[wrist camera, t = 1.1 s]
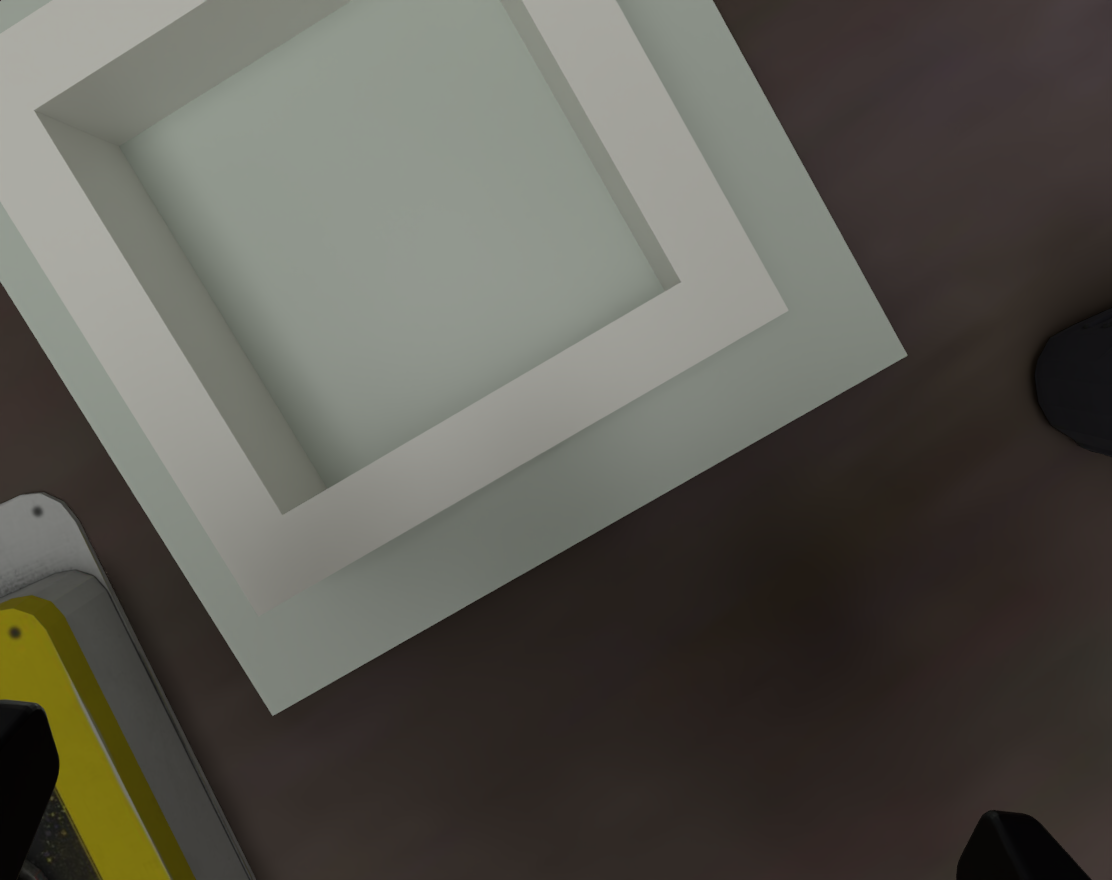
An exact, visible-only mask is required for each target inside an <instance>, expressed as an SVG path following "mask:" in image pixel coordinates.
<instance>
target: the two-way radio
mask: <svg viewBox="0 0 1112 880" xmlns="http://www.w3.org/2000/svg"><path fill="white" fill-rule="evenodd" d="M1035 382H1036V389H1037V396H1038V403H1039V404H1040V406H1041V408H1042V410H1043V412H1044V414H1045V416H1046V417H1047V419H1048V421H1049V423H1050V425H1051V426H1053V427H1054V428H1056V429H1058V430H1059V431H1061V432H1063V433H1064V434H1066V435H1067V436H1069V437H1071V438H1072V439H1074V440H1075V442H1076V443H1077V445H1079V446H1081V447H1083V448H1085V449H1088V450H1090V451H1092V452H1097V453H1101V454H1104V455H1107V456H1110V457H1112V308H1111V309H1108V310H1106V311H1104V312H1101V313H1099V314H1097V315H1095V316H1092V317H1090V318H1088V319H1086V320H1084V321H1081V322H1079V323H1077V324H1075V325H1073V326H1071V327H1069V328H1067V329H1065V330H1063V331H1061V332H1059V333H1058V334H1056V335H1054V336H1052V337H1051V338H1049V340H1048V342H1047V344H1046V346H1045V347H1044V349H1043V351H1042V353H1041V355H1040V356H1039V358H1038V361H1037V366H1036V371H1035Z"/></svg>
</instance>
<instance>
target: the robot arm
mask: <svg viewBox="0 0 1112 880" xmlns="http://www.w3.org/2000/svg"><path fill="white" fill-rule="evenodd" d="M59 767H60V762H59V755H58V751H57V748H56V745H55V741H54V738H53V735H52V731H51V728H50V725H49V721H48V718H47V715H46V712H45V710H44V708H43V707H41V706H40V705H39V704H37V703H34V702H25V701H16V700H7V699H4V700H0V880H17V879H18V877H19V874H20V872H21V869H22V867H23V864H24V862H25V859H26V857H27V854H28V852H29V849H30V847H31V844H32V842H33V839H34V837H35V835H36V832H37V830H38V827H39V825H40V822H41V820H42V817H43V815H44V812H45V810H46V807H47V805H48V802H49V800H50V797H51V795H52V792H53V790H54V788H55V785H56V782H57V779H58V775H59ZM956 880H1091V879H1090V877H1089V876H1088V875H1087V874H1086V873H1085V872H1084V871H1083V870H1082V869H1081V867H1080V866H1079V865H1078V864H1077V863H1076V862H1075V861H1074V860H1073V859H1072V858H1071V856H1070V855H1069V854H1068V853H1067V852H1066V851H1065V850H1064V849H1063V848H1062V846H1061V845H1060V844H1059V843H1058V842H1057V841H1056V840H1055V839H1054V838H1053V837H1052V835H1051V834H1050V833H1049V832H1048V831H1047V830H1046V829H1045V828H1044V827H1043V826H1042V824H1041V823H1040V822H1038V821H1037V820H1036V819H1034V818H1033V817H1031V816H1030V815H1027V814H1023V813H1014V812H1005V811H996V810H990V811H988V812H986V813H985V814H983V815H982V817H981V818H980V820H979V822H978V824H977V826H976V828H975V830H974V832H973V833H972V835H971V837H970V839H969V841H968V843H967V845H966V847H965V849H964V851H963V853H962V855H961V857H960V859H959V862H958V866H957V874H956Z"/></svg>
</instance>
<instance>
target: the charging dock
mask: <svg viewBox="0 0 1112 880" xmlns="http://www.w3.org/2000/svg"><path fill="white" fill-rule="evenodd" d="M0 281H1V283H2V285H3V286H4V288H5V289H6V291H7V293H8V294H9V296H10V297H11V299H12V301H13V302H14V304H15V305H16V307H17V309H18V310H19V312H20V313H21V315H22V317H23V318H24V320H25V321H26V323H27V325H28V326H29V328H30V329H31V331H32V333H33V334H34V336H35V337H36V339H37V340H38V342H39V344H40V345H41V347H42V348H43V350H44V352H45V353H46V355H47V356H48V358H49V360H50V361H51V363H52V364H53V366H54V368H55V369H56V371H57V372H58V374H59V376H60V377H61V379H62V380H63V382H64V384H65V385H66V387H67V388H68V390H69V392H70V393H71V395H72V396H73V398H74V400H75V401H76V403H77V404H78V406H79V408H80V409H81V411H82V412H83V414H84V416H85V417H86V419H87V420H88V422H89V423H90V425H91V427H92V428H93V430H94V431H95V433H96V435H97V436H98V438H99V439H100V441H101V443H102V444H103V446H104V447H105V449H106V451H107V452H108V454H109V455H110V457H111V459H112V460H113V462H114V463H115V465H116V467H117V468H118V470H119V471H120V473H121V475H122V476H123V478H124V479H125V481H126V483H127V484H128V486H129V487H130V489H131V491H132V492H133V494H134V495H135V497H136V498H137V500H138V502H139V503H140V505H141V506H142V508H143V510H144V511H145V513H146V514H147V516H148V518H149V519H150V521H151V522H152V524H153V526H154V527H155V529H156V530H157V532H158V534H159V535H160V537H161V538H162V540H163V542H164V543H165V545H166V546H167V548H168V550H169V551H170V553H171V554H172V556H173V558H174V559H175V561H176V562H177V564H178V566H179V567H180V569H181V570H182V572H183V574H184V575H185V577H186V578H187V580H188V581H189V583H190V585H191V586H192V588H193V589H194V591H195V593H196V594H197V596H198V597H199V599H200V601H201V602H202V604H203V605H204V607H205V609H206V610H207V612H208V613H209V615H210V617H211V618H212V620H213V621H214V623H215V625H216V626H217V628H218V629H219V631H220V633H221V634H222V636H223V637H224V639H225V641H226V642H227V644H228V645H229V647H230V649H231V650H232V652H233V653H234V655H235V657H236V658H237V660H238V661H239V663H240V664H241V666H242V668H243V669H244V671H245V672H246V674H247V676H248V677H249V679H250V680H251V682H252V684H253V685H254V687H255V688H256V690H257V692H258V693H259V695H260V696H261V698H262V700H263V701H264V703H265V704H266V706H267V708H268V709H269V711H270V712H271V714H272V716H274V715H275V714H277V713H279V712H281V711H282V710H284V709H286V708H288V707H290V706H291V705H293V704H295V703H297V702H298V701H300V700H302V699H304V698H305V697H307V696H309V695H311V694H312V693H314V692H316V691H318V690H319V689H321V688H323V687H325V686H326V685H328V684H330V683H332V682H334V681H335V680H337V679H339V678H341V677H342V676H344V675H346V674H348V673H349V672H351V671H353V670H355V669H356V668H358V667H360V666H362V665H363V664H365V663H367V662H369V661H371V660H372V659H374V658H376V657H378V656H379V655H381V654H383V653H385V652H386V651H388V650H390V649H392V648H393V647H395V646H397V645H399V644H400V643H402V642H404V641H406V640H407V639H409V638H411V637H413V636H415V635H416V634H418V633H420V632H422V631H423V630H425V629H427V628H429V627H430V626H432V625H434V624H436V623H437V622H439V621H441V620H443V619H444V618H446V617H448V616H450V615H452V614H453V613H455V612H457V611H459V610H460V609H462V608H464V607H466V606H467V605H469V604H471V603H473V602H474V601H476V600H478V599H480V598H481V597H483V596H485V595H487V594H488V593H490V592H492V591H494V590H496V589H497V588H499V587H501V586H503V585H504V584H506V583H508V582H510V581H511V580H513V579H515V578H517V577H518V576H520V575H522V574H524V573H525V572H527V571H529V570H531V569H533V568H534V567H536V566H538V565H540V564H541V563H543V562H545V561H547V560H548V559H550V558H552V557H554V556H555V555H557V554H559V553H561V552H562V551H564V550H566V549H568V548H569V547H571V546H573V545H575V544H577V543H578V542H580V541H582V540H584V539H585V538H587V537H589V536H591V535H592V534H594V533H596V532H598V531H599V530H601V529H603V528H605V527H606V526H608V525H610V524H612V523H614V522H615V521H617V520H619V519H621V518H622V517H624V516H626V515H628V514H629V513H631V512H633V511H635V510H636V509H638V508H640V507H642V506H643V505H645V504H647V503H649V502H650V501H652V500H654V499H656V498H658V497H659V496H661V495H663V494H665V493H666V492H668V491H670V490H672V489H673V488H675V487H677V486H679V485H680V484H682V483H684V482H686V481H687V480H689V479H691V478H693V477H695V476H696V475H698V474H700V473H702V472H703V471H705V470H707V469H709V468H710V467H712V466H714V465H716V464H717V463H719V462H721V461H723V460H724V459H726V458H728V457H730V456H731V455H733V454H735V453H737V452H739V451H740V450H742V449H744V448H746V447H747V446H749V445H751V444H753V443H754V442H756V441H758V440H760V439H761V438H763V437H765V436H767V435H768V434H770V433H772V432H774V431H776V430H777V429H779V428H781V427H783V426H784V425H786V424H788V423H790V422H791V421H793V420H795V419H797V418H798V417H800V416H802V415H804V414H805V413H807V412H809V411H811V410H813V409H814V408H816V407H818V406H820V405H821V404H823V403H825V402H827V401H828V400H830V399H832V398H834V397H835V396H837V395H839V394H841V393H842V392H844V391H846V390H848V389H849V388H851V387H853V386H855V385H857V384H858V383H860V382H862V381H864V380H865V379H867V378H869V377H871V376H872V375H874V374H876V373H878V372H879V371H881V370H883V369H885V368H886V367H888V366H890V365H892V364H894V363H895V362H897V361H899V360H901V359H902V358H904V357H906V356H908V355H907V353H906V352H905V350H904V348H903V346H902V344H901V343H900V341H899V339H898V337H897V335H896V333H895V332H894V330H893V328H892V326H891V324H890V322H889V321H888V319H887V317H886V315H885V313H884V312H883V310H882V308H881V306H880V304H879V302H878V301H877V299H876V297H875V295H874V293H873V292H872V290H871V288H870V286H869V284H868V282H867V281H866V279H865V277H864V275H863V273H862V271H861V270H860V268H859V266H858V264H857V262H856V261H855V259H854V257H853V255H852V253H851V251H850V250H849V248H848V246H847V244H846V242H845V241H844V239H843V237H842V235H841V233H840V231H839V230H838V228H837V226H836V224H835V222H834V220H833V219H832V217H831V215H830V213H829V211H828V210H827V208H826V206H825V204H824V202H823V200H822V199H821V197H820V195H819V193H818V191H817V189H816V188H815V186H814V184H813V182H812V180H811V179H810V177H809V175H808V173H807V171H806V169H805V168H804V166H803V164H802V162H801V160H800V159H799V157H798V155H797V153H796V151H795V149H794V148H793V146H792V144H791V142H790V140H789V138H788V137H787V135H786V133H785V131H784V129H783V128H782V126H781V124H780V122H779V120H778V118H777V117H776V115H775V113H774V111H773V109H772V108H771V106H770V104H769V102H768V100H767V98H766V97H765V95H764V93H763V91H762V89H761V87H760V86H759V84H758V82H757V80H756V78H755V77H754V75H753V73H752V71H751V69H750V67H749V66H748V64H747V62H746V60H745V58H744V57H743V55H742V53H741V51H740V49H739V47H738V46H737V44H736V42H735V40H734V38H733V36H732V35H731V33H730V31H729V29H728V27H727V26H726V24H725V22H724V20H723V18H722V16H721V15H720V13H719V11H718V9H717V7H716V5H715V4H714V2H713V0H2V1H0Z"/></svg>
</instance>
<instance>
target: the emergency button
mask: <svg viewBox="0 0 1112 880" xmlns="http://www.w3.org/2000/svg"><path fill="white" fill-rule="evenodd" d="M4 699H7V700H16V701H25V702H34V703H37V704H39V705H40V706H41V707H43V708H44V710H45V712H46V715H47V718H48V721H49V725H50V728H51V731H52V735H53V738H54V741H55V745H56V748H57V751H58V755H59V762H60V767H59V775H58V779H57V782H56V785H55V788H54V790H53V792H52V795H51V797H50V800H49V802H48V805H47V807H46V810H45V812H44V815H43V817H42V820H41V822H40V825H39V827H38V830H37V832H36V835H35V837H34V839H33V842H32V844H31V847H30V849H29V852H28V854H27V857H26V859H25V862H24V864H23V867H22V869H21V872H20V874H19V877H18V879H17V880H256V878H255V876H254V874H253V872H252V870H251V868H250V866H249V864H248V862H247V860H246V858H245V856H244V854H243V852H242V850H241V848H240V846H239V844H238V842H237V840H236V838H235V836H234V834H233V832H232V830H231V828H230V825H229V823H228V821H227V819H226V817H225V815H224V813H223V811H222V809H221V807H220V805H219V803H218V801H217V799H216V797H215V795H214V793H213V791H212V789H211V787H210V785H209V783H208V781H207V779H206V777H205V775H204V773H203V771H202V769H201V767H200V765H199V763H198V761H197V759H196V757H195V755H194V753H193V750H192V748H191V746H190V744H189V742H188V740H187V738H186V736H185V734H184V732H183V730H182V728H181V726H180V724H179V722H178V720H177V718H176V716H175V714H174V712H173V710H172V708H171V706H170V704H169V702H168V700H167V698H166V696H165V694H164V692H163V690H162V688H161V686H160V684H159V682H158V680H157V678H156V675H155V673H154V671H153V669H152V667H151V665H150V663H149V661H148V659H147V657H146V655H145V653H144V651H143V649H142V647H141V645H140V643H139V641H138V639H137V637H136V635H135V633H134V631H133V629H132V627H131V625H130V623H129V621H128V619H127V617H126V615H125V613H124V611H123V609H122V607H121V605H120V602H119V600H118V598H117V596H116V594H115V592H114V590H113V588H112V586H111V584H110V582H109V580H108V578H107V576H106V574H105V572H104V570H103V568H102V566H101V564H100V562H99V560H98V558H97V556H96V554H95V552H94V550H93V548H92V546H91V544H90V542H89V540H88V538H87V536H86V534H85V532H84V530H83V527H82V525H81V523H80V521H79V520H78V518H77V517H76V516H75V515H74V513H73V512H72V511H71V510H70V508H69V507H68V506H67V505H66V503H65V502H64V501H62V500H60V499H58V498H55V497H53V496H51V495H49V494H47V493H45V492H39V493H30V494H23V495H20V496H18V497H15V498H13V499H11V500H9V501H7V502H4V503H2V504H0V700H4Z"/></svg>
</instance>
